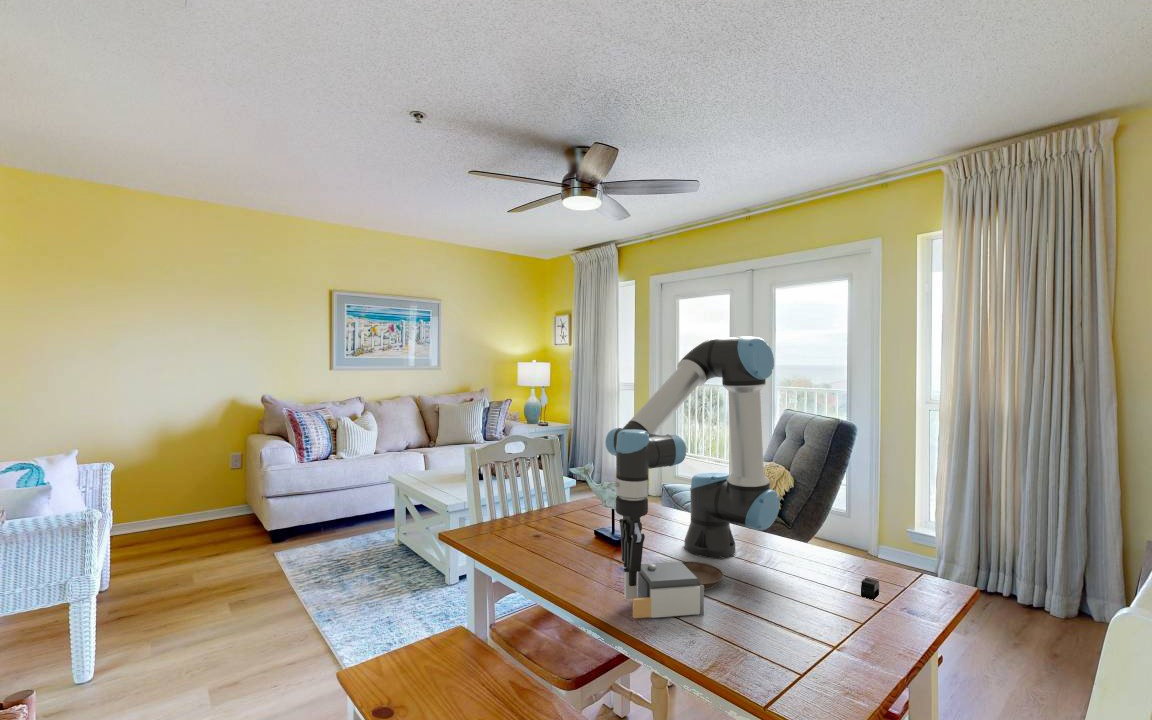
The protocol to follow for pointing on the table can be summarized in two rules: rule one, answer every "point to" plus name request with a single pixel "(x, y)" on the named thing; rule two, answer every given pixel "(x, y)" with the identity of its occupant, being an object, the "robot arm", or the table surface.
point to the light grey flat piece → (670, 602)
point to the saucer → (705, 573)
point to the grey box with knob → (664, 577)
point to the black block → (870, 588)
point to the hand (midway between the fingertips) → (630, 597)
